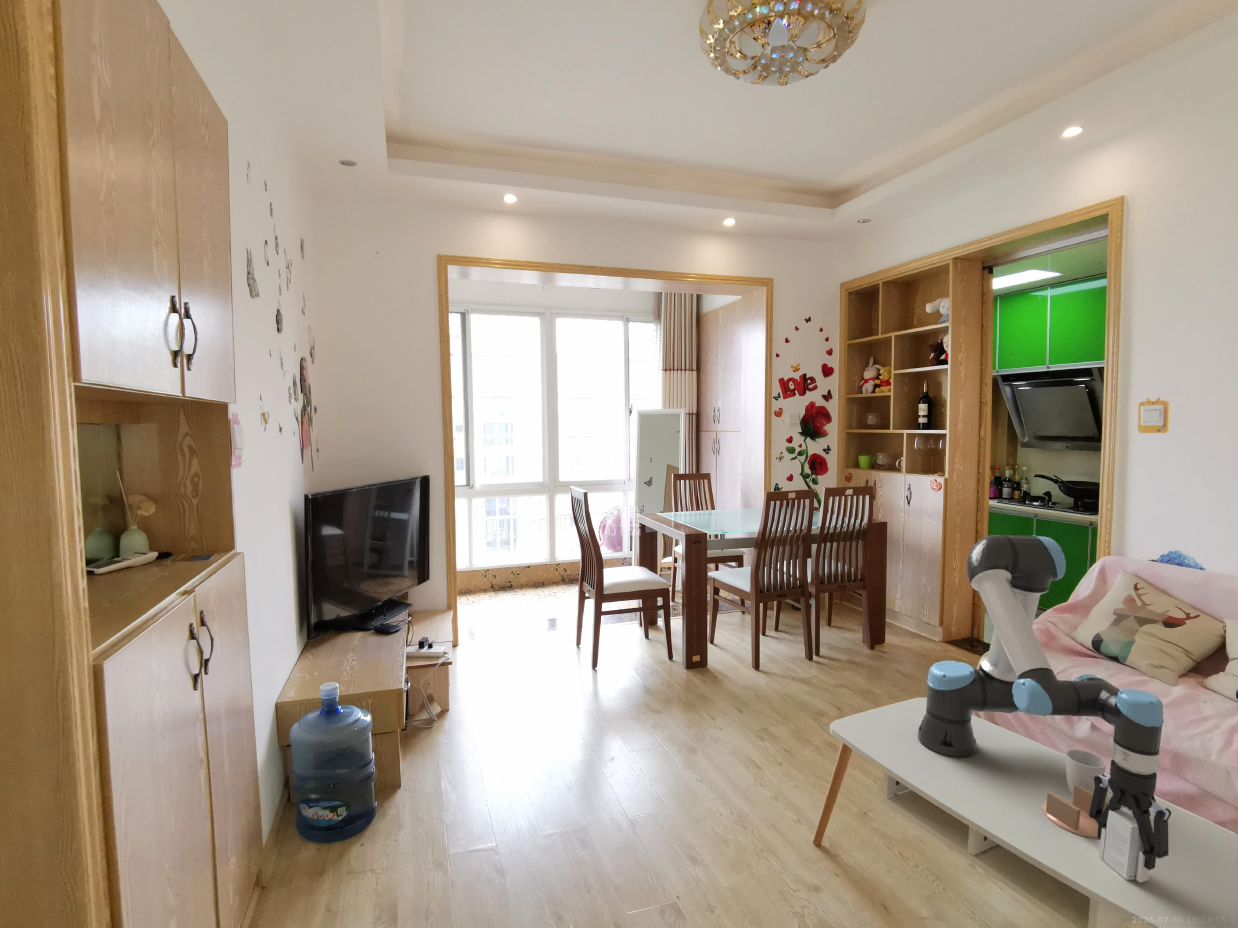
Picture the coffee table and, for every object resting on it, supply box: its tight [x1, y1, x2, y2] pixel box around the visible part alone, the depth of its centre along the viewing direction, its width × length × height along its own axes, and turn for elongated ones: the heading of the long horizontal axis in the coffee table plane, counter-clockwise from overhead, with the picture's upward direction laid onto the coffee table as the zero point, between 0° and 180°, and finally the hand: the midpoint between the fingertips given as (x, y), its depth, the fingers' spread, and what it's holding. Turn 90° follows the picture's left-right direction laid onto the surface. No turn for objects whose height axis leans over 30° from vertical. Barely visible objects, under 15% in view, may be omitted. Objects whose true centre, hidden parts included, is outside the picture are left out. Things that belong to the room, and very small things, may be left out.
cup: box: [1065, 749, 1107, 797], centre depth 160 cm, size 8×8×10 cm
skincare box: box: [1102, 808, 1144, 881], centre depth 134 cm, size 6×4×12 cm
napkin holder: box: [1042, 785, 1109, 839], centre depth 151 cm, size 13×13×6 cm
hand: (1123, 867), depth 135 cm, fingers closed on skincare box, 7 cm apart
